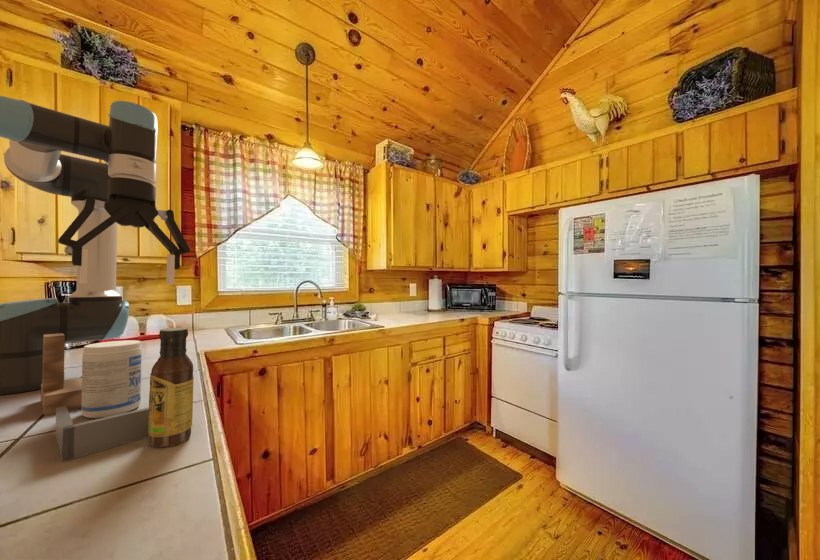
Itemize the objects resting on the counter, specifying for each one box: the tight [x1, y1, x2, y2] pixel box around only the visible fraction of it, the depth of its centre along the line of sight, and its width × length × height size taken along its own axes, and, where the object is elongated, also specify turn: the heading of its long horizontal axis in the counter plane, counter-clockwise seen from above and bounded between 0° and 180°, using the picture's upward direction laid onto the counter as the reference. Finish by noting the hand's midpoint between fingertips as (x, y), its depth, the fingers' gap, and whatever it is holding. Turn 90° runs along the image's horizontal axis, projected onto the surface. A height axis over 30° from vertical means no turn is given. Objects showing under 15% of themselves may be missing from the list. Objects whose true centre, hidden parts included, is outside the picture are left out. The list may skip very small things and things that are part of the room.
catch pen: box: [54, 406, 150, 462], centre depth 61 cm, size 14×17×5 cm
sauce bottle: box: [148, 326, 195, 448], centre depth 57 cm, size 6×6×20 cm
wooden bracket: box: [40, 333, 82, 416], centre depth 75 cm, size 10×13×16 cm
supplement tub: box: [80, 339, 143, 419], centre depth 70 cm, size 10×10×15 cm
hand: (130, 284), depth 66 cm, fingers open, 13 cm apart
